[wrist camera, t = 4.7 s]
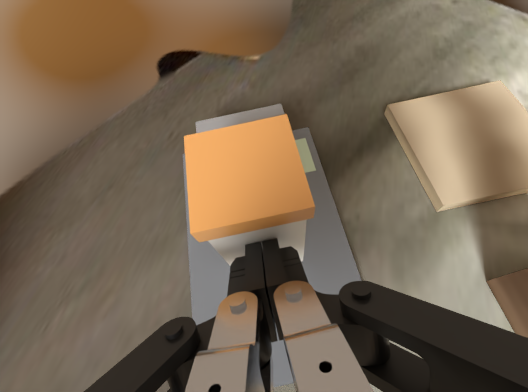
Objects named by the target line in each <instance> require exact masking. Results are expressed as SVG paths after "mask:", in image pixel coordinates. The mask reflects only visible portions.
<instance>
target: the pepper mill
mask: <svg viewBox="0 0 528 392" xmlns="http://www.w3.org/2000/svg"><path fill="white" fill-rule="evenodd" d="M486 282H487V283H488V285H489V287H490V289H491V291H492V292H493V294H494V296H495V298H496V300H497V301H498V303H499V305H500V307H501V309H502V310H503V312H504V314H505V316H506V318H507V319H508V321H509V323H510V325H511V327H512V328H513V330H514V332H515V334H518V335H521V336H524V337H527V338H528V268H526V269H523V270H520V271H517V272H514V273H510V274H507V275H504V276H501V277H498V278H495V279H491V280H488V281H486Z"/></svg>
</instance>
